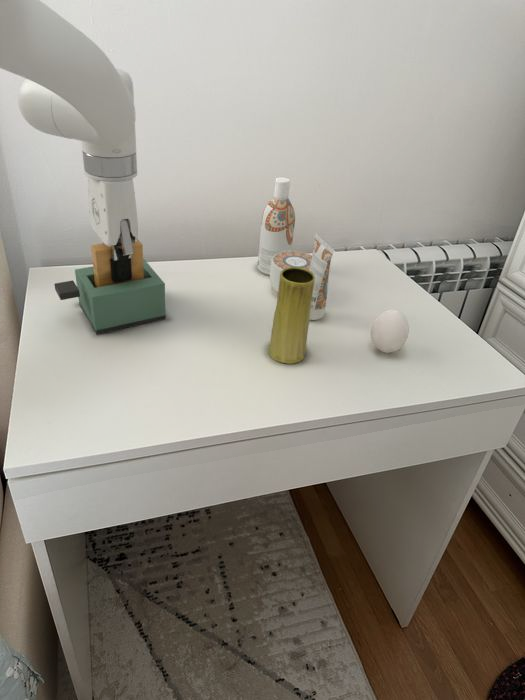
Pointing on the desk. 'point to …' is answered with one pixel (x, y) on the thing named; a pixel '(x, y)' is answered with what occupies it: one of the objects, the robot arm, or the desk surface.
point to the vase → (292, 315)
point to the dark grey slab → (67, 290)
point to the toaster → (121, 300)
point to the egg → (389, 331)
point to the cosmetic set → (279, 244)
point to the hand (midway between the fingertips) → (118, 275)
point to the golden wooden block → (103, 265)
